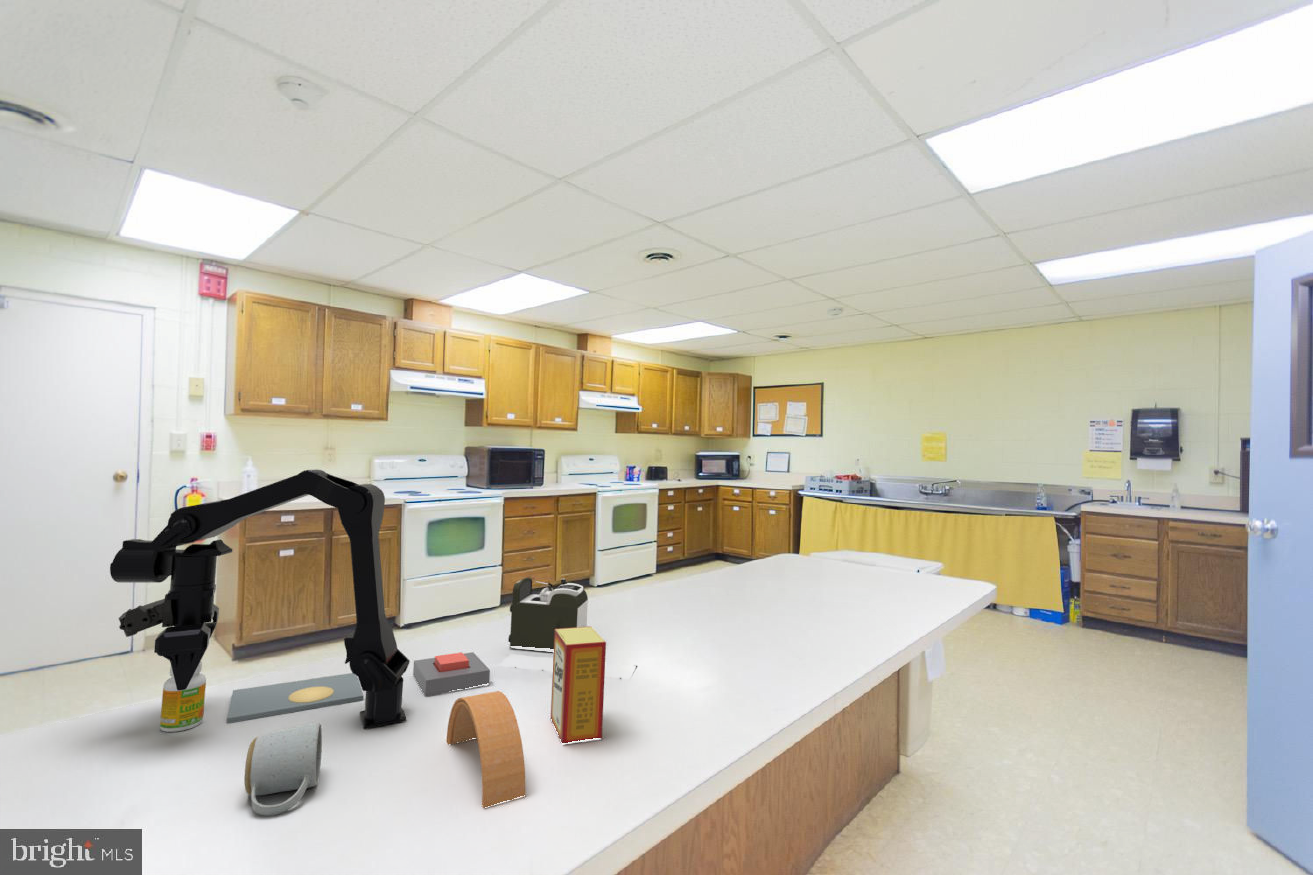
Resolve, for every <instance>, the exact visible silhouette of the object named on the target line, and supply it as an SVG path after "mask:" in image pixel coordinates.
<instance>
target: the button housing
mask: <svg viewBox="0 0 1313 875" xmlns="http://www.w3.org/2000/svg"><path fill="white" fill-rule="evenodd" d="M463 654H464V655H465V656H466V657H467V659H468V660H469V668H465V669H459V670H453V671H446V672H440V673H439V672H438V670H437V669H436V667H435V666H434V661H435V657H430V658H424V659H417V660H413V667H412V668H413V669H412V676H413V675H414V676H413V678H414V677H415V678H414V679H416V680H415V681H417V682H418V683H417V682H416V683H417V685H418V684H419V685H418V687H419V686H420V687H419V689H420V688H421V689H422V690H421V689H420V690H421V692H422V694H423V693H424V694H423V696H424V697H425V696H427V697H431V695H433V696H437V695H436V694H438V695H442V694H441V693H444V692H449V691H452V690H457V689H465V688H469V687H473V686H478V685H482V684H487V683H489V684H490V680H491V679H490V678H491V677H490V676H491V670H490V668H488V667H487V665H486V664H485V663H484V662H483V661H482V660H481V658H480V657H478V655H477V654H476V653H474V651H473V652H466V653H463ZM444 694H445V693H444Z"/></svg>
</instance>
